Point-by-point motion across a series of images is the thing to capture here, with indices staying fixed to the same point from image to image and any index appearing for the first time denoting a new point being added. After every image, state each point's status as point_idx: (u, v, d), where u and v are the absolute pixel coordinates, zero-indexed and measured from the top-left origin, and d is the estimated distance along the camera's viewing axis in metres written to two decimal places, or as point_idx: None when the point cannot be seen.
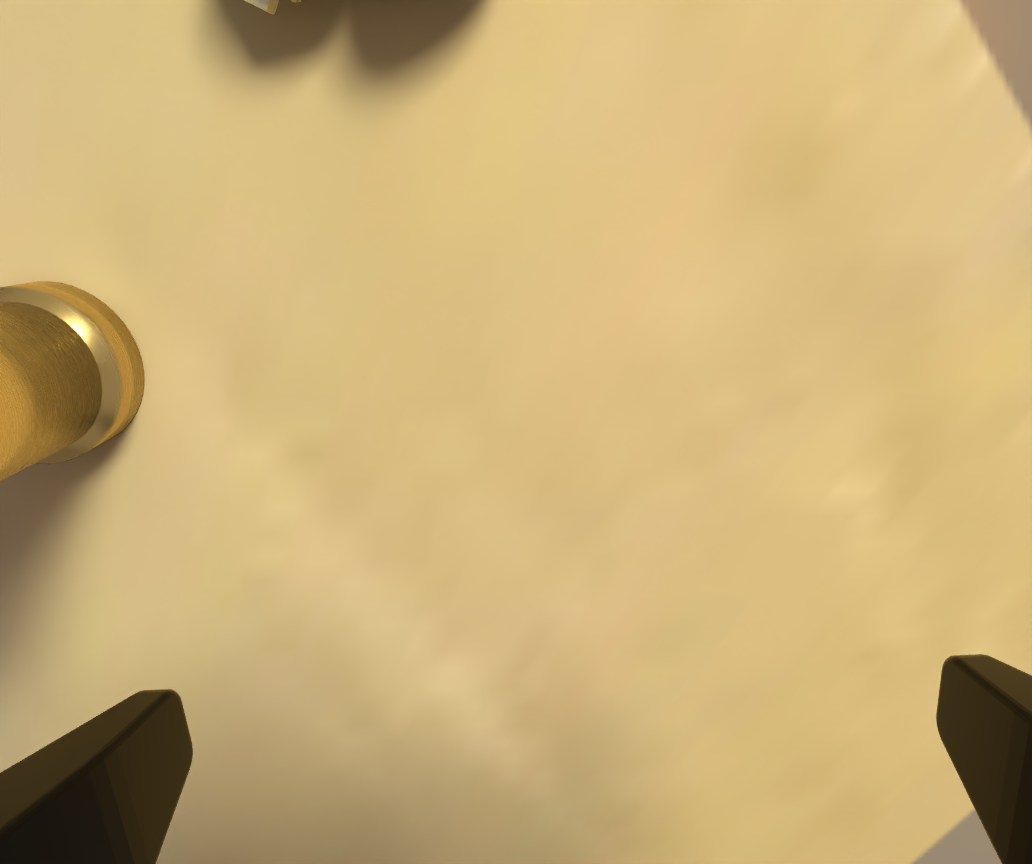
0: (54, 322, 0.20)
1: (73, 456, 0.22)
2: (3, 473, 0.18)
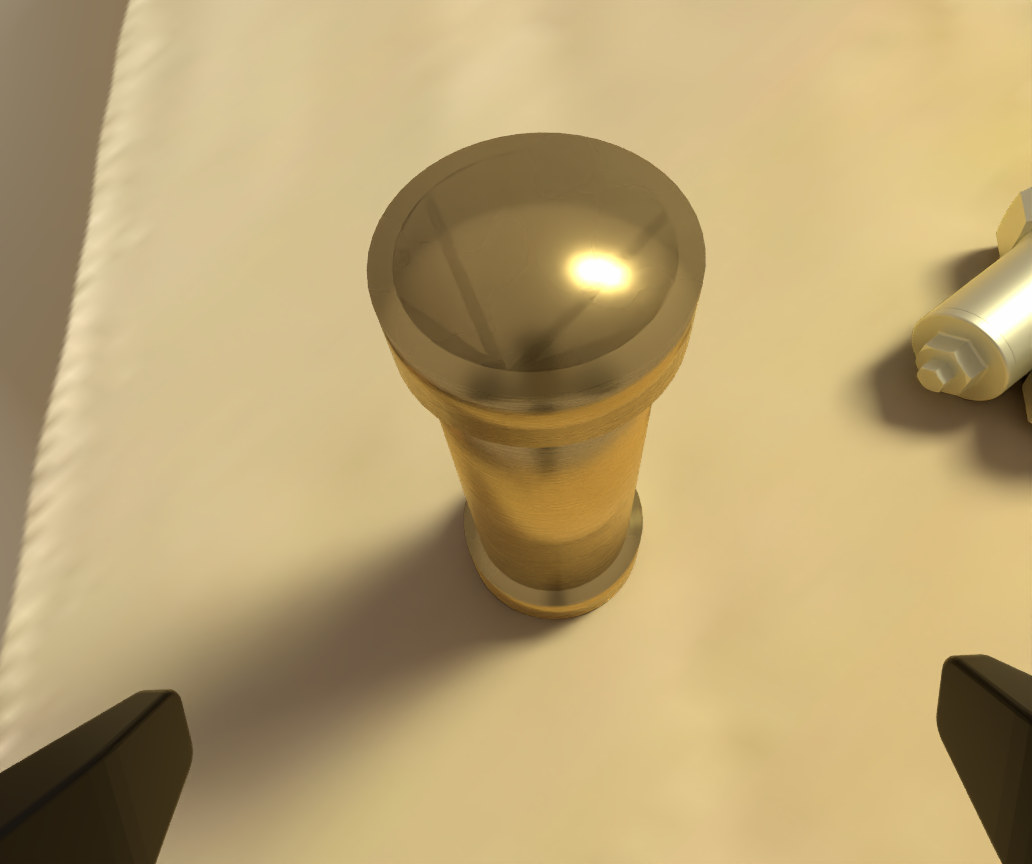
0: None
1: (544, 603, 0.20)
2: (577, 544, 0.17)
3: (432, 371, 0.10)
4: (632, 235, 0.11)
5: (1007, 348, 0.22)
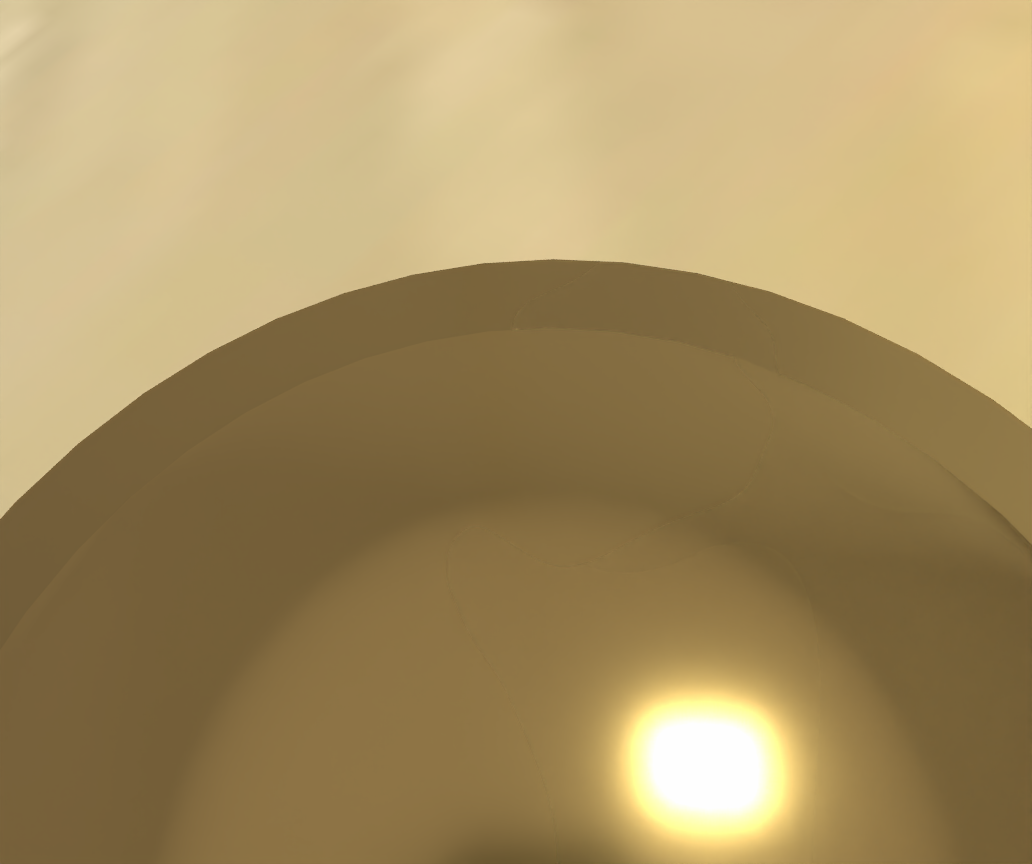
0: None
1: None
2: None
3: None
4: (1006, 822, 0.02)
5: None
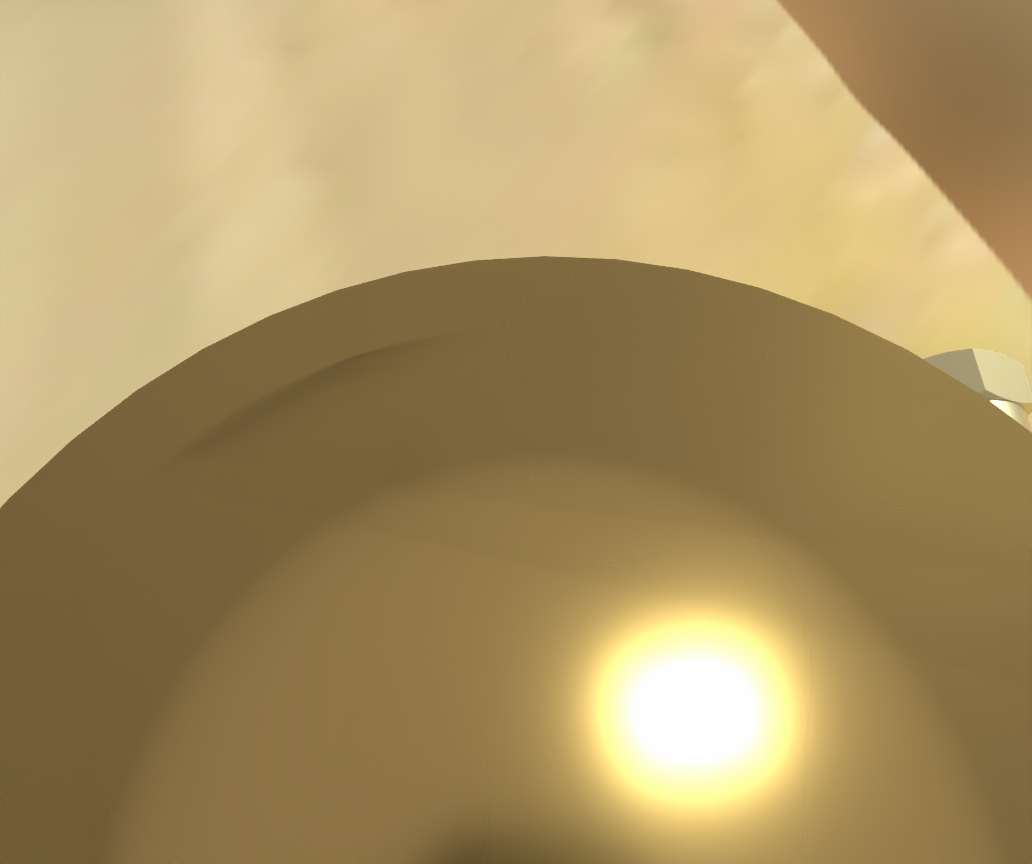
0: None
1: None
2: None
3: None
4: (992, 812, 0.02)
5: None
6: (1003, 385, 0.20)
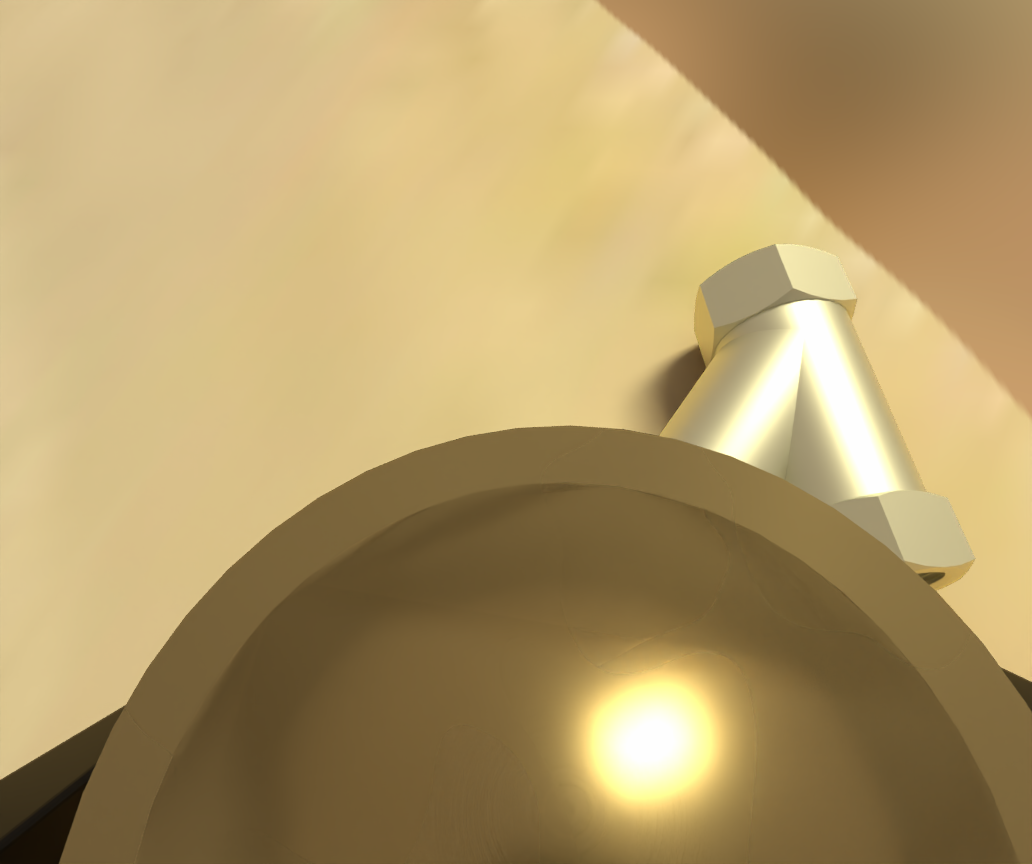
0: None
1: None
2: None
3: None
4: (873, 848, 0.04)
5: None
6: (815, 282, 0.17)
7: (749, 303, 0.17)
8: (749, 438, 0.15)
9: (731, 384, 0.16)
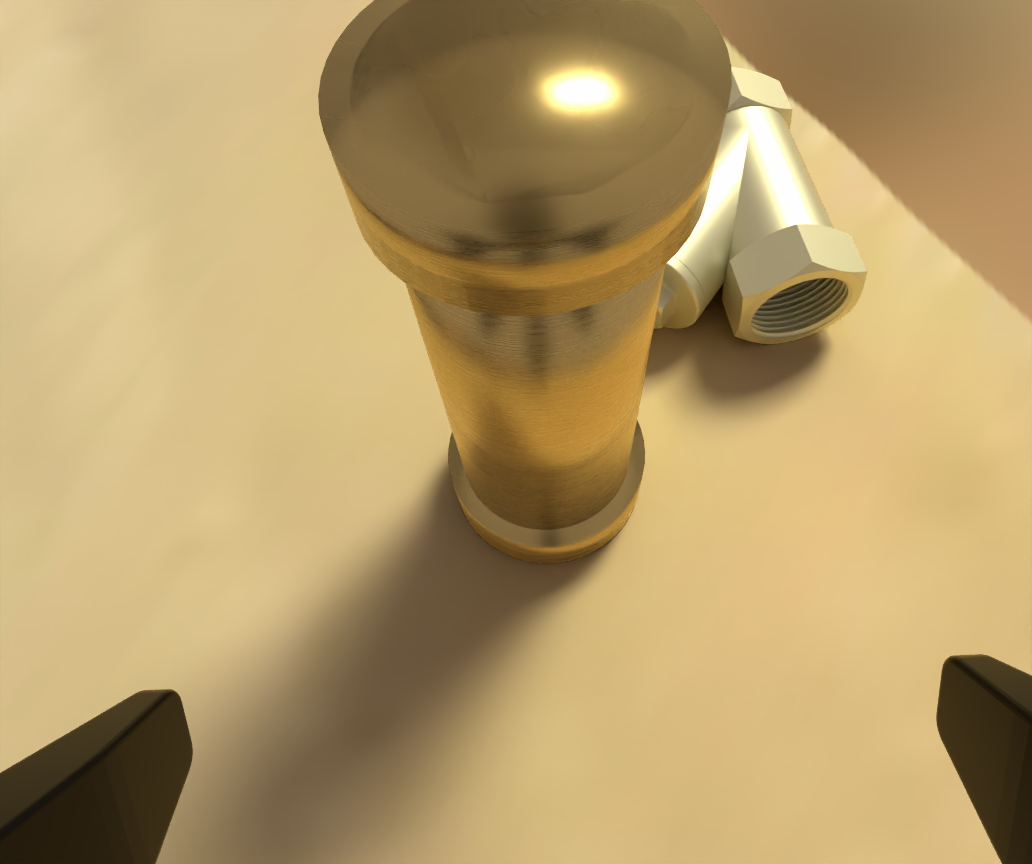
0: None
1: (536, 542, 0.18)
2: (574, 468, 0.15)
3: (395, 206, 0.08)
4: (641, 53, 0.09)
5: (685, 268, 0.20)
6: (759, 94, 0.22)
7: None
8: None
9: None
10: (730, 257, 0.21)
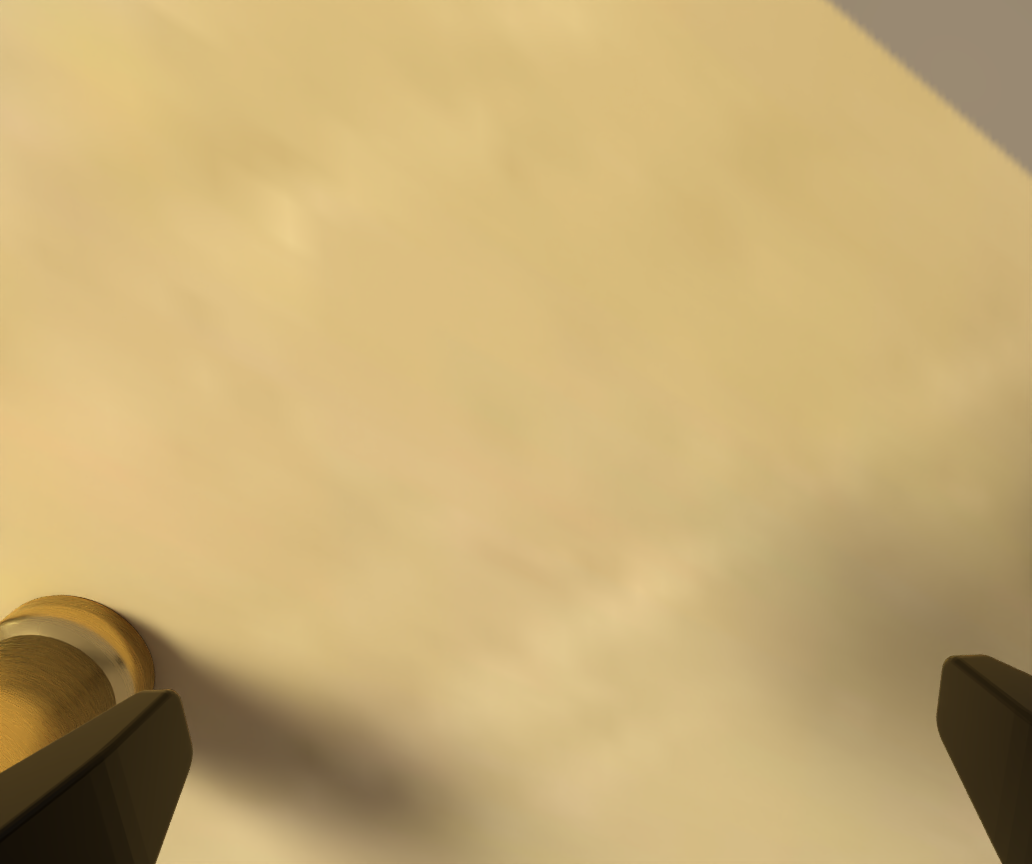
0: None
1: (125, 694, 0.23)
2: (23, 757, 0.19)
3: None
4: None
5: None
6: None
7: None
8: None
9: None
10: None
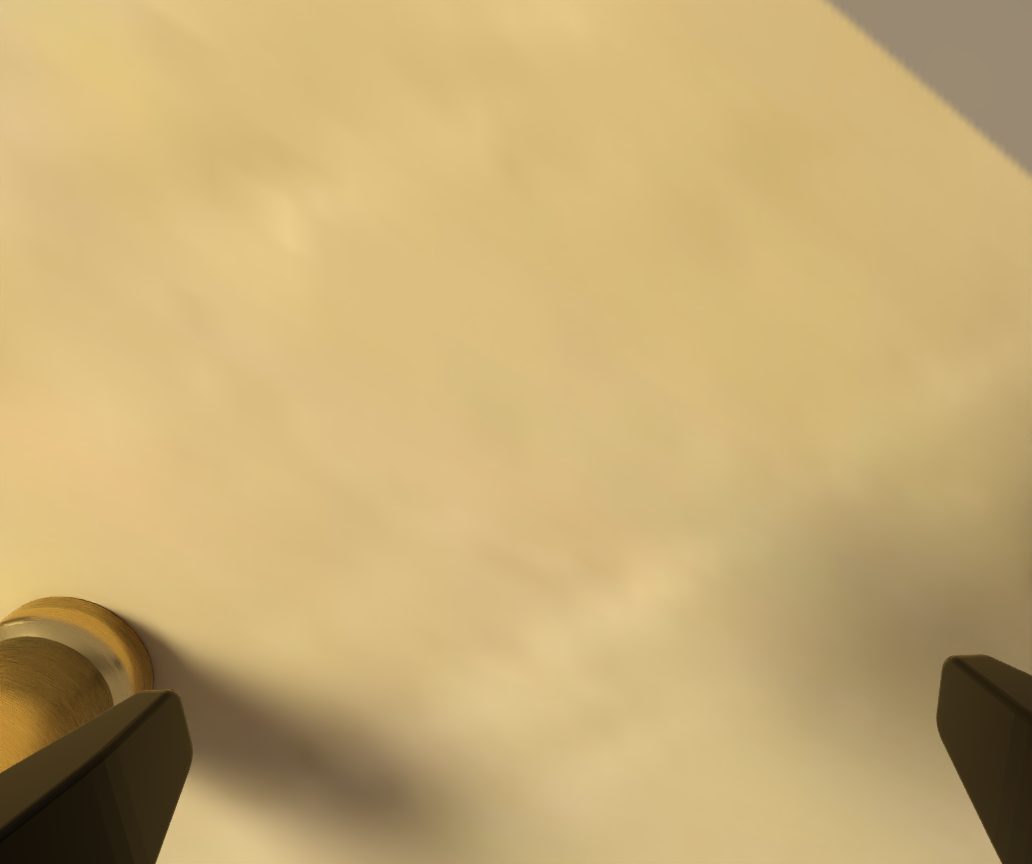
0: None
1: (123, 696, 0.23)
2: (19, 759, 0.19)
3: None
4: None
5: None
6: None
7: None
8: None
9: None
10: None
